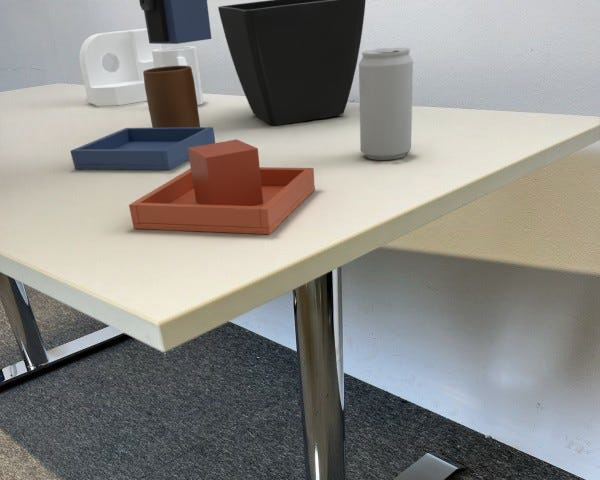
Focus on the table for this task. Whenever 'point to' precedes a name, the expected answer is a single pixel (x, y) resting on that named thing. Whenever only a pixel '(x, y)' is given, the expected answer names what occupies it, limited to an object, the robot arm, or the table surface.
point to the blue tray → (142, 148)
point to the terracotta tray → (223, 218)
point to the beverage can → (385, 103)
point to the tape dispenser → (116, 66)
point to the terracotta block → (226, 174)
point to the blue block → (185, 21)
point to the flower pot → (295, 55)
